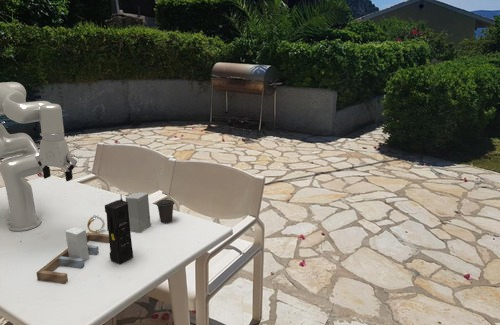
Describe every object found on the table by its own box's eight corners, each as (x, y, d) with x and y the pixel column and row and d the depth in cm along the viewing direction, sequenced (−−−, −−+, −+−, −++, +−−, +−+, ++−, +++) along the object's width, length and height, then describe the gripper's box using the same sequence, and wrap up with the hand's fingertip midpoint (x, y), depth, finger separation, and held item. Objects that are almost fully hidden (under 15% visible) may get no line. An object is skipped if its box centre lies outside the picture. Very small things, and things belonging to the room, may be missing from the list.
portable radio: (118, 266, 136) (111, 203, 129) (107, 261, 139) (100, 199, 132) (134, 256, 143) (129, 196, 136) (124, 252, 146) (118, 193, 139)
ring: (88, 235, 158) (86, 218, 156) (87, 232, 161) (85, 215, 159) (105, 232, 162) (104, 215, 159) (104, 229, 164) (103, 212, 162)
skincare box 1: (89, 258, 141) (86, 229, 138) (80, 263, 138) (76, 234, 134) (77, 254, 144) (74, 226, 140) (68, 259, 140) (64, 231, 137)
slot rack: (37, 280, 127) (36, 272, 126) (88, 238, 156) (87, 232, 155) (65, 283, 126) (64, 275, 125) (111, 241, 154) (110, 234, 153)
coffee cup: (156, 218, 175) (154, 199, 173) (173, 216, 179) (172, 196, 176) (159, 226, 168) (157, 205, 166) (176, 223, 171) (175, 203, 169)
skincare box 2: (140, 233, 161) (138, 199, 157) (127, 230, 164) (124, 197, 159) (151, 225, 169) (149, 192, 165) (138, 222, 171) (136, 190, 167)
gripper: (25, 136, 139) (31, 179, 144) (67, 140, 136) (72, 184, 141) (40, 132, 146) (45, 173, 151) (80, 136, 143) (83, 178, 148)
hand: (58, 178), depth 146 cm, fingers open, 9 cm apart
